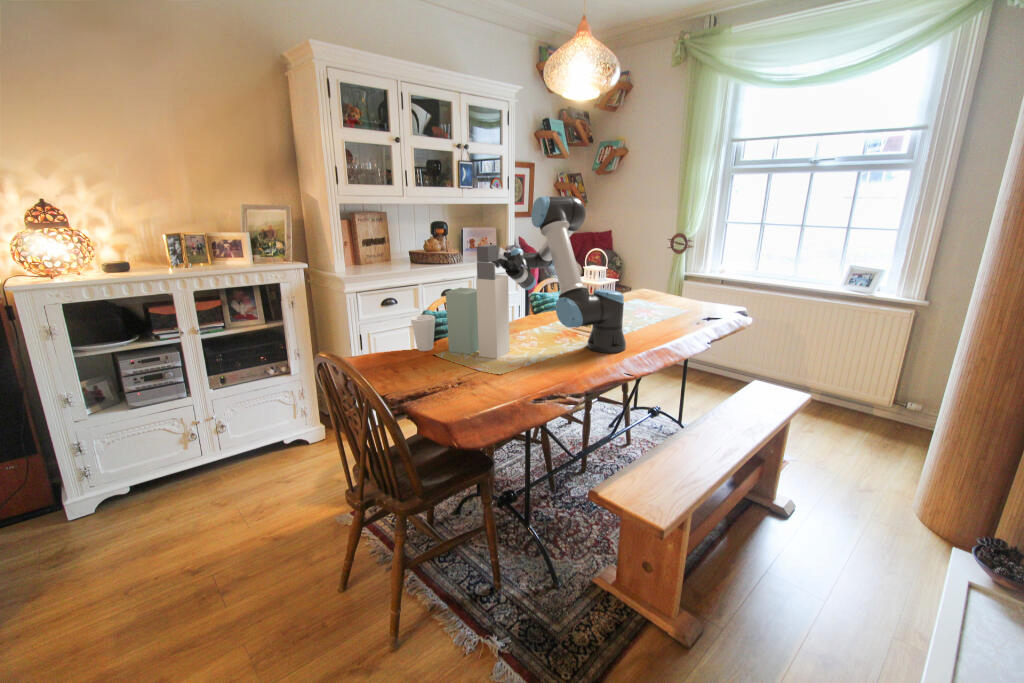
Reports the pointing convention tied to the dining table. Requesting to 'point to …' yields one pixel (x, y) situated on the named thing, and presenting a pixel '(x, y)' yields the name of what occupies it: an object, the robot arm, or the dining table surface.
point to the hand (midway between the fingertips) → (493, 249)
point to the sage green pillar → (462, 320)
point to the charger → (487, 253)
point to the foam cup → (423, 331)
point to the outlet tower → (492, 311)
